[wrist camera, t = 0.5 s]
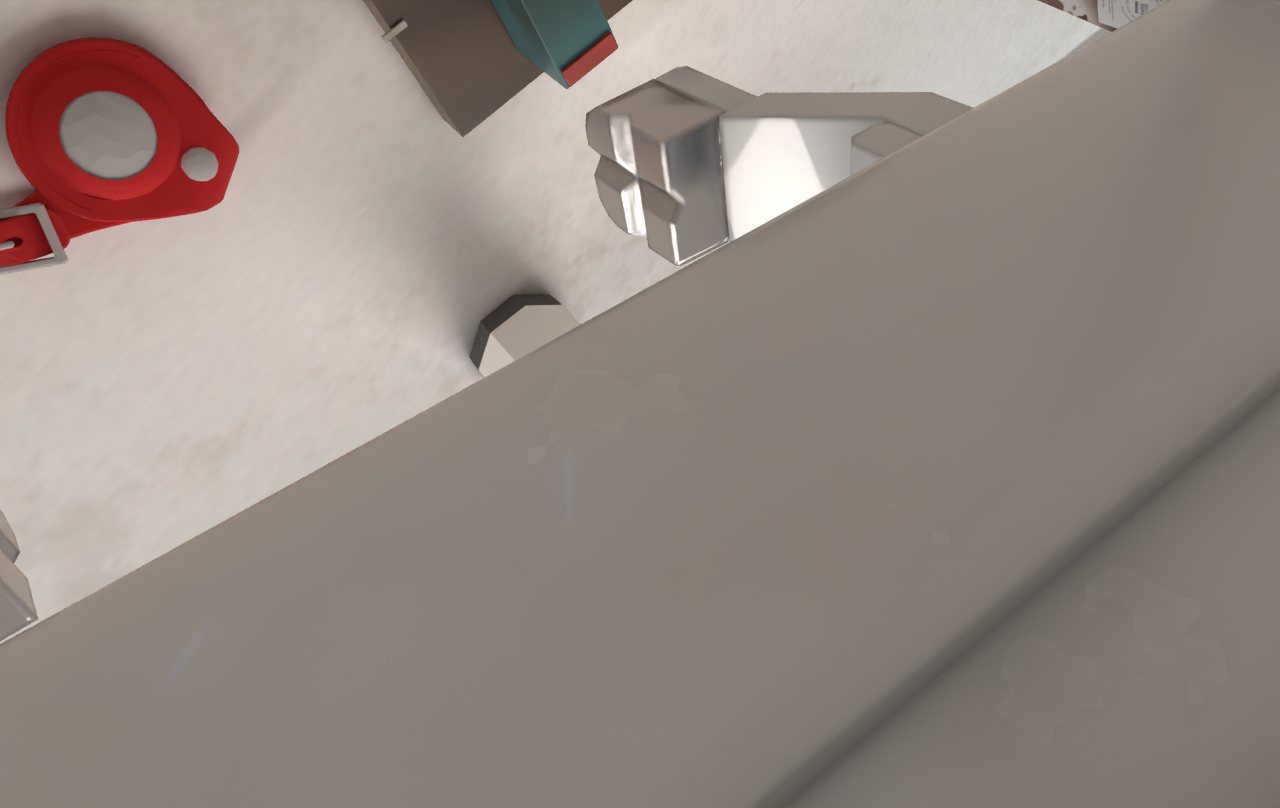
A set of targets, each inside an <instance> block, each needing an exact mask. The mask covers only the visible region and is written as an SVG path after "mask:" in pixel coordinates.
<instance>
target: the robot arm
mask: <svg viewBox="0 0 1280 808" xmlns="http://www.w3.org/2000/svg"><path fill="white" fill-rule="evenodd" d="M586 133H587V139H588V144H589V146H590V147H591V148H593V149H594V150H595V151H596V152H597V153H598V154H600V155H601V157H600V160H599V163H598V166H597V169H596V172H595V175H594V176H595V180H596V185H597V189H598V194H599V198H600V200H601V202H602V204H603V206H604V208H605V210H606V212H607V214H608V216H609V217H610V218H611V219H612V220H613V222H614V223H615V224H616V225H617V226H618V227H619V228H621V229H622V230H623V231H625V232H626V233H628V234H630V235H641V236H647V240H648V246H649V248H650V249H652V250H653V251H655V252H656V253H658V254H659V255H661V256H662V257H664V258H665V259H667V260H668V261H670V262H671V263H673V264H674V265H676V266H677V267H680V266H682V265H684V264H686V263H688V262H690V261H692V260H694V259H696V258H698V257H700V256H702V255H704V254H706V253H708V252H710V251H712V250H714V249H716V248H718V247H719V246H721V245H723V244H725V243H727V242H729V241H730V243H728V244H726V245H724V246H722V247H721V248H719V249H717V250H715V251H713V252H712V253H710V254H708V255H706V256H704V257H703V258H701V259H699V260H697V261H695V262H693V263H692V264H690V265H688V266H686V267H684V268H683V269H681V270H679V271H677V272H675V273H673V274H672V275H670V276H668V277H666V278H664V279H663V280H661V281H659V282H657V283H655V284H654V285H652V286H650V287H648V288H646V289H644V290H643V291H641V292H639V293H637V294H635V295H634V296H632V297H630V298H628V299H626V300H625V301H623V302H621V303H619V304H617V305H615V306H614V307H612V308H610V309H608V310H606V311H605V312H603V313H601V314H599V315H597V316H595V317H594V318H592V319H590V320H588V321H586V322H585V323H583V324H581V325H579V326H577V327H576V328H574V329H572V330H570V331H568V332H566V333H565V334H563V335H561V336H559V337H557V338H556V339H554V340H552V341H550V342H548V343H547V344H545V345H543V346H541V347H539V348H537V349H536V350H534V351H532V352H530V353H528V354H527V355H525V356H523V357H521V358H519V359H517V360H516V361H514V362H512V363H510V364H508V365H507V366H505V367H503V368H501V369H499V370H497V371H496V372H494V373H492V374H490V375H488V376H487V377H485V378H483V379H481V380H479V381H477V382H476V383H474V384H472V385H470V386H468V387H467V388H465V389H463V390H461V391H459V392H457V393H456V394H454V395H452V396H450V397H448V398H447V399H445V400H443V401H441V402H439V403H437V404H436V405H434V406H432V407H430V408H428V409H427V410H425V411H423V412H421V413H419V414H418V415H416V416H414V417H412V418H410V419H408V420H407V421H405V422H403V423H401V424H399V425H398V426H396V427H394V428H392V429H390V430H388V431H387V432H385V433H383V434H381V435H379V436H378V437H376V438H374V439H372V440H370V441H368V442H367V443H365V444H363V445H361V446H359V447H358V448H356V449H354V450H352V451H350V452H348V453H347V454H345V455H343V456H341V457H339V458H338V459H336V460H334V461H332V462H330V463H328V464H327V465H325V466H323V467H321V468H319V469H318V470H316V471H314V472H312V473H310V474H308V475H307V476H305V477H303V478H301V479H299V480H298V481H296V482H294V483H292V484H290V485H289V486H287V487H285V488H283V489H281V490H279V491H278V492H276V493H274V494H272V495H270V496H269V497H267V498H265V499H263V500H261V501H259V502H258V503H256V504H254V505H252V506H250V507H249V508H247V509H245V510H243V511H241V512H239V513H238V514H236V515H234V516H232V517H230V518H229V519H227V520H225V521H223V522H221V523H219V524H218V525H216V526H214V527H212V528H210V529H209V530H207V531H205V532H203V533H201V534H199V535H198V536H196V537H194V538H192V539H190V540H189V541H187V542H185V543H183V544H181V545H179V546H178V547H176V548H174V549H172V550H170V551H169V552H167V553H165V554H163V555H161V556H160V557H158V558H156V559H154V560H152V561H150V562H149V563H147V564H145V565H143V566H141V567H140V568H138V569H136V570H134V571H132V572H130V573H129V574H127V575H125V576H123V577H121V578H120V579H118V580H116V581H114V582H112V583H110V584H109V585H107V586H105V587H103V588H101V589H100V590H98V591H96V592H94V593H92V594H90V595H89V596H87V597H85V598H83V599H81V600H80V601H78V602H76V603H74V604H72V605H70V606H69V607H67V608H65V609H63V610H61V611H60V612H58V613H56V614H54V615H52V616H51V617H49V618H47V619H45V620H43V621H41V622H40V623H38V624H36V625H34V626H32V627H31V628H29V629H27V630H25V631H23V632H22V633H20V634H18V635H16V636H14V637H13V638H11V639H9V640H7V641H5V642H3V643H2V644H0V808H1280V0H1168V1H1166V2H1164V3H1163V4H1161V5H1159V6H1157V7H1156V8H1154V9H1152V10H1150V11H1149V12H1147V13H1145V14H1143V15H1142V16H1140V17H1138V18H1136V19H1135V20H1133V21H1131V22H1129V23H1127V24H1126V25H1124V26H1122V27H1120V28H1118V29H1116V30H1115V31H1113V32H1111V33H1109V34H1107V35H1106V36H1104V37H1102V38H1100V39H1098V40H1097V41H1095V42H1093V43H1091V44H1089V45H1087V46H1086V47H1084V48H1082V49H1080V50H1078V51H1076V52H1075V53H1073V54H1071V55H1069V56H1067V57H1065V58H1064V59H1062V60H1060V61H1058V62H1056V63H1055V64H1053V65H1051V66H1049V67H1047V68H1045V69H1044V70H1042V71H1040V72H1038V73H1036V74H1035V75H1033V76H1031V77H1029V78H1027V79H1025V80H1024V81H1022V82H1020V83H1018V84H1016V85H1015V86H1013V87H1011V88H1009V89H1007V90H1005V91H1004V92H1002V93H1000V94H998V95H996V96H995V97H993V98H991V99H989V100H987V101H986V102H984V103H982V104H980V105H978V106H976V107H975V108H972V107H969V106H967V105H964V104H961V103H959V102H956V101H953V100H951V99H948V98H945V97H943V96H940V95H937V94H935V93H932V92H871V93H765V94H763V95H761V96H759V97H757V96H755V95H752V94H750V93H748V92H745V91H743V90H741V89H738V88H736V87H734V86H732V85H729V84H727V83H725V82H722V81H720V80H718V79H715V78H713V77H711V76H708V75H706V74H704V73H702V72H699V71H697V70H695V69H692V68H690V67H688V66H683V67H677V68H675V69H673V70H671V71H669V72H667V73H665V74H663V75H661V76H659V77H657V78H656V79H652V80H650V81H648V82H646V83H644V84H642V85H640V86H638V87H636V88H634V89H632V90H630V91H628V92H626V93H624V94H622V95H620V96H618V97H616V98H614V99H611V100H609V101H607V102H605V103H603V104H601V105H599V106H597V107H595V108H594V109H592V110H591V111H589V112H588V113H586ZM19 553H20V551H19V547H18V544H17V541H16V538H15V535H14V533H13V531H12V529H11V527H10V525H9V524H8V522H7V520H6V518H5V516H4V514H3V512H2V511H1V510H0V641H1V640H3V639H5V638H7V637H8V636H10V635H12V634H14V633H15V632H17V631H19V630H20V629H22V628H24V627H26V626H27V625H29V624H31V623H33V622H34V621H36V620H38V616H37V613H36V609H35V605H34V601H33V598H32V594H31V590H30V586H29V583H28V579H27V578H26V577H25V575H24V574H23V573H22V572H21V571H20V570H19V569H18V568H17V567H16V566H15V565H14V562H15V560H16V559H17V557H18V555H19Z"/></svg>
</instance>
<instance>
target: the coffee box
mask: <svg viewBox="0 0 1280 808" xmlns="http://www.w3.org/2000/svg"><path fill="white" fill-rule="evenodd" d="M1039 1H1041V2H1043V3H1046V4H1048V5H1050V6H1053V7H1055V8H1057V9H1060V10H1062V11H1064V12H1067V13H1069V14H1071V15H1073V16H1076V17H1078V18H1081V19H1083V20H1086V21H1088V22H1090V23H1092V24H1095V25H1097V26H1099V27H1101V28H1104V29H1106V30H1109V31H1111V32H1113V31H1115V30H1116V29H1118V28H1120V27H1122V26H1124V25H1126V24H1127V23H1129V22H1131V21H1133V20H1135V19H1136V18H1138V17H1140V16H1142V15H1143V14H1145V13H1147V12H1149V11H1150V10H1152V9H1154V8H1156V7H1157V6H1159V5H1161V4H1163V3H1164V2H1166V1H1168V0H1039Z"/></svg>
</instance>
